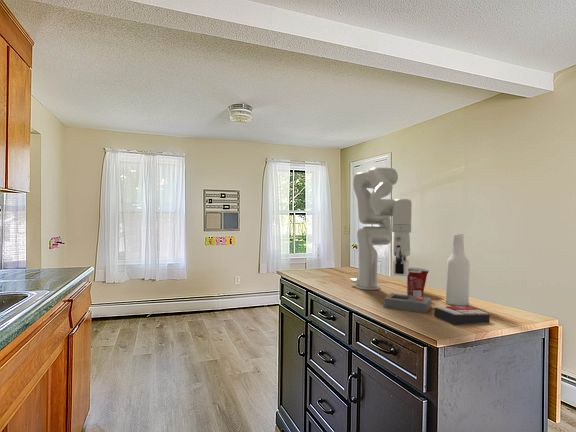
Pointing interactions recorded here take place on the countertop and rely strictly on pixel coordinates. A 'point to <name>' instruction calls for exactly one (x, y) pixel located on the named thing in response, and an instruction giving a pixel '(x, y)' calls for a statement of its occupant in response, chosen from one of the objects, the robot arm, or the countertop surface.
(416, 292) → the soda can
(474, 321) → the button control panel
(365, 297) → the countertop surface
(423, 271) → the plastic cup
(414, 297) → the socket plate
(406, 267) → the plug
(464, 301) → the alcohol
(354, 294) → the countertop surface
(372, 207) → the robot arm
